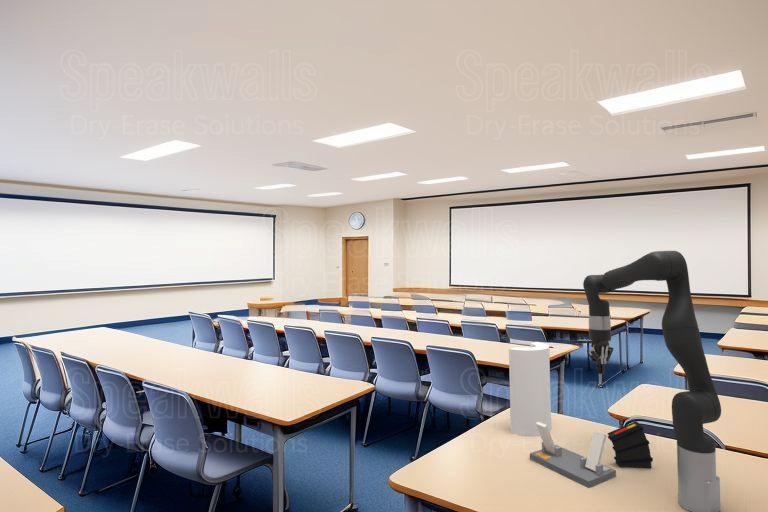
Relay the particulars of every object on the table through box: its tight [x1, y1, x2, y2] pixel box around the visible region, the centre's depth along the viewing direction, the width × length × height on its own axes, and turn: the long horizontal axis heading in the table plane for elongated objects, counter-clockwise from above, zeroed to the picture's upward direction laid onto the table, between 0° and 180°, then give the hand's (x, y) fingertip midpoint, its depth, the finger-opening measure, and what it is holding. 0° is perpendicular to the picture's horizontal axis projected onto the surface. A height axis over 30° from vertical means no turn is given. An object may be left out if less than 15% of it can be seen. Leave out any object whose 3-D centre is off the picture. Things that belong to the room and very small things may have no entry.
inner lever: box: [585, 430, 607, 471], centre depth 149 cm, size 4×1×12 cm, turn 30°
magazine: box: [607, 420, 654, 469], centre depth 155 cm, size 4×13×15 cm, turn 83°
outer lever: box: [536, 422, 556, 454], centre depth 161 cm, size 4×1×12 cm, turn 30°
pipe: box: [508, 341, 552, 437], centre depth 189 cm, size 35×11×21 cm
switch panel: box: [529, 441, 617, 489], centre depth 155 cm, size 24×14×5 cm, turn 30°
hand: (601, 373), depth 169 cm, fingers closed
